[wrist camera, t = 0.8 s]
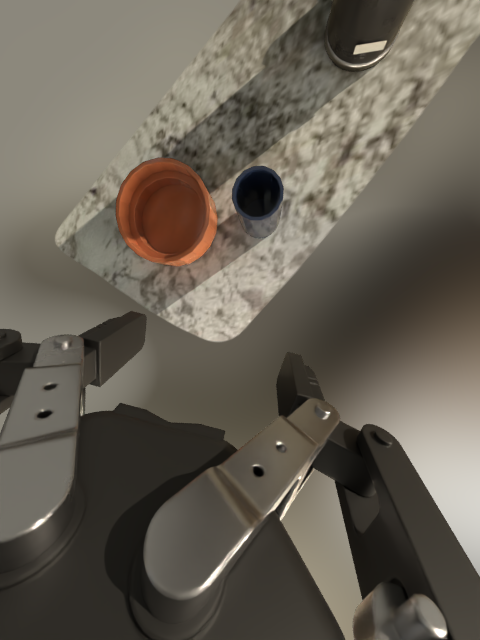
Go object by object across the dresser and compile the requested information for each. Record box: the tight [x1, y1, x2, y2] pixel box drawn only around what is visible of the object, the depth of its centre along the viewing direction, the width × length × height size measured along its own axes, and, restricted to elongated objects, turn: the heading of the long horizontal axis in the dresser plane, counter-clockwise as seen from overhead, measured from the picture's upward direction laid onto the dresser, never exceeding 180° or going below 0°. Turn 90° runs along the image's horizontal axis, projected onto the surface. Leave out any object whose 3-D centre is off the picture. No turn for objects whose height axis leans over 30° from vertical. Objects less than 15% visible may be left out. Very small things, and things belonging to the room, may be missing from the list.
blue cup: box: [232, 166, 284, 238], centre depth 30 cm, size 6×6×9 cm
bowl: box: [116, 158, 218, 266], centre depth 34 cm, size 14×14×5 cm
